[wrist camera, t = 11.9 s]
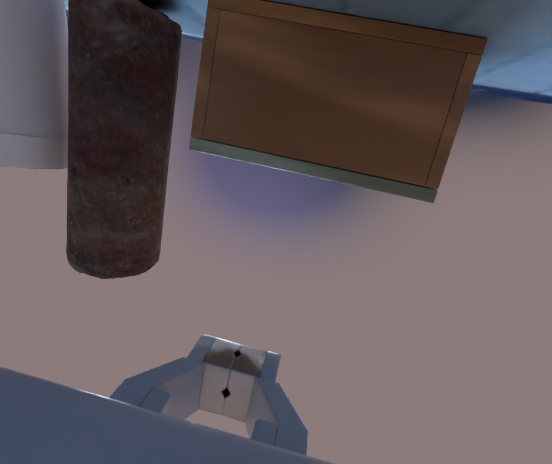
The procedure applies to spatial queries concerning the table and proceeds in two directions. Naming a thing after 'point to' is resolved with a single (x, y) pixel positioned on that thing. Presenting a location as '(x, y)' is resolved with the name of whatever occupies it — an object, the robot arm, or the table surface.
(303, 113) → the box
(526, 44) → the table surface
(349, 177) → the pale green flat panel
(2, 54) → the foam cup
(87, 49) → the dark brown rough cylinder
